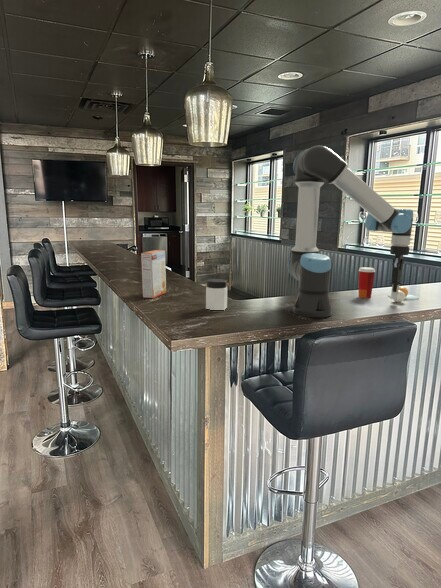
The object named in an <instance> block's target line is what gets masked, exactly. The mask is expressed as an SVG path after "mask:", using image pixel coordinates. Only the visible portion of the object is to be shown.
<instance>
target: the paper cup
mask: <svg viewBox="0 0 441 588" xmlns="http://www.w3.org/2000/svg"><path fill="white" fill-rule="evenodd" d="M357 271H358V298H361V299H371V297H372V293H373V286H374V280H375V275H376V269H375V268H374V267H365V266H364V267H363V266H362V267H359V269H358V270H357Z"/></svg>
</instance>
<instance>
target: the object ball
mask: <svg viewBox="0 0 441 588" xmlns="http://www.w3.org/2000/svg"><path fill="white" fill-rule="evenodd" d="M399 290H400V291H402V292H404V294H405V297H406V296H407V295H409V289H407V288H406V287H405V286H399Z"/></svg>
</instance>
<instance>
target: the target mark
mask: <svg viewBox="0 0 441 588" xmlns="http://www.w3.org/2000/svg"><path fill="white" fill-rule="evenodd" d="M386 296H387V298H390V299H391V293H388V294H387V295H386ZM419 298H420V297H418V296H417V295H414V294H408V295H407V296H406V297H405V299H404V301H415V300H420V299H419Z"/></svg>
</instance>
